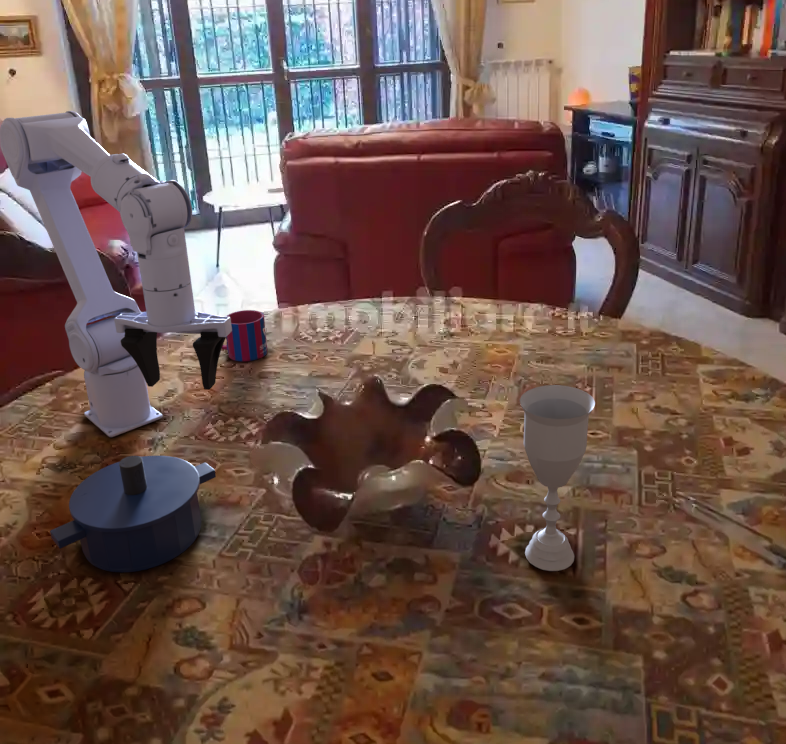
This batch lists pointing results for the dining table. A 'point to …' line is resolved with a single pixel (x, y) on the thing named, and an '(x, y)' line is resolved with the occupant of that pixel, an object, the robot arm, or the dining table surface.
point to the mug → (246, 336)
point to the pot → (138, 538)
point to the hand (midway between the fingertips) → (181, 384)
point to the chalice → (554, 460)
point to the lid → (134, 493)
